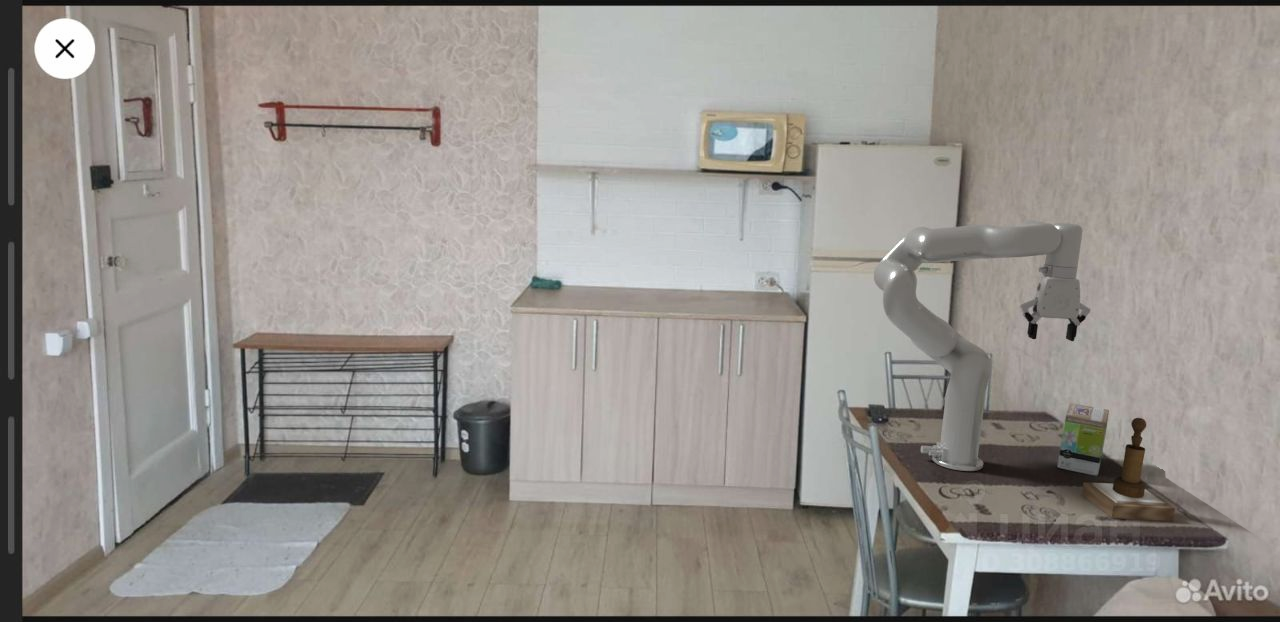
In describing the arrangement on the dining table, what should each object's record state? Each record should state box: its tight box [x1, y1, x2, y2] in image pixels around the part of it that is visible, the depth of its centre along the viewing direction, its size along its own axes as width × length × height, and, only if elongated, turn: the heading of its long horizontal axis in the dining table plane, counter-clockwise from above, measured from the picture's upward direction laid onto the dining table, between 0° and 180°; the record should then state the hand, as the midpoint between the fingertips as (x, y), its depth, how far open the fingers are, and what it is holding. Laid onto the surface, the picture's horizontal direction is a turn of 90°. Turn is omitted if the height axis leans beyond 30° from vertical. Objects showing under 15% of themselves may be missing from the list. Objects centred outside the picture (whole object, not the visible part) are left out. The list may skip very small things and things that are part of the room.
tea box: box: [1056, 402, 1110, 477], centre depth 236 cm, size 15×10×15 cm, turn 151°
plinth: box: [1081, 481, 1176, 522], centre depth 208 cm, size 14×14×4 cm
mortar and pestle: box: [1112, 417, 1147, 498], centre depth 206 cm, size 7×6×18 cm
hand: (1050, 339), depth 227 cm, fingers open, 9 cm apart
